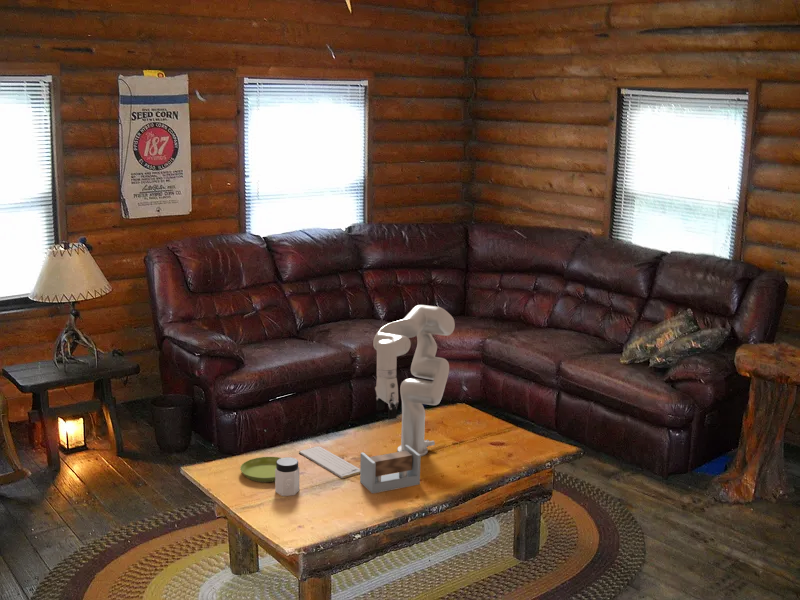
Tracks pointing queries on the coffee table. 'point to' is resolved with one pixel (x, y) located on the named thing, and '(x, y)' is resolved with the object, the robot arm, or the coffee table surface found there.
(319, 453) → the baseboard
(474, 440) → the coffee table surface
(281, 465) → the jar
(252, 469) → the saucer
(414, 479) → the peg frame
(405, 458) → the shelf board
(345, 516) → the coffee table surface
